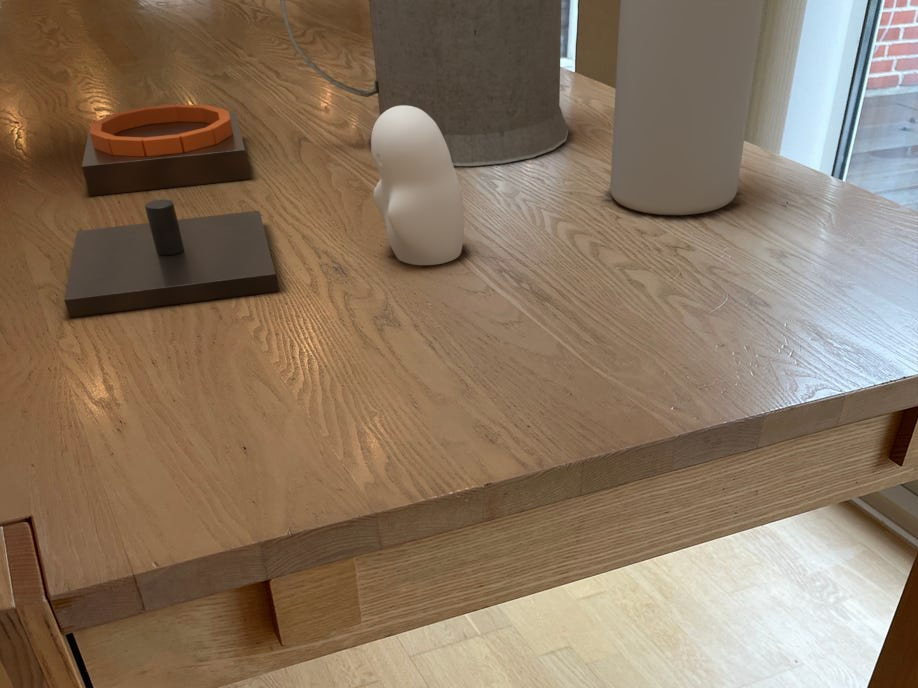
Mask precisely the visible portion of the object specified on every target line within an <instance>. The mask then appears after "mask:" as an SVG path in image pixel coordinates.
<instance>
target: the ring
mask: <svg viewBox="0 0 918 688" xmlns="http://www.w3.org/2000/svg"><path fill="white" fill-rule="evenodd" d="M229 113H230V112H229V110H227V109H225V108H224V109H223V108H221V107H217V106H212V105H208V104H189V103H188V104H187V103H178V104H176V103H175V104H174V103H173V104H163V105H154V106H144V107H138V108H133V109H129V110H125V111H119V112H115V113H112V114H109V115H107V116H104V117H101V118H100V119H98V120H96V121H94V122H92V123H91V124H90V126H91V128H90V127H89V129H90V136H91V140H92V143H93V147H94V148H95V149H97V150H99V151H102V152H105V153H108V154H110V155H119V156H139V157H145V156H146V155H147V157H148V156H158V155H168V154H178V153H183V152H189V151H193V150H197V149H201V148H205V147H209V146H213V145H215V144H218V143H220V142H221V141H223V140H225V139H226V138H228V137H230V136H231V135H232V134H233V130H232V125H231V119H230V115H229ZM168 122H204V123H208V124H211V125H209V126H207V127H206V128H202V129H198V130H193V131H189V132H185V133H181V134H176V135H166V136H156V137H146V138H143V137H121V136H114V134H116V133H118V132H120V131H122V130H127V129H131V128H135V127H140V126H144V125H148V124H158V123H168Z"/></svg>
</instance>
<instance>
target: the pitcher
mask: <svg viewBox="0 0 918 688" xmlns="http://www.w3.org/2000/svg"><path fill="white" fill-rule="evenodd" d="M279 1H280V8H281V13H282V18H283V21H284V25H285V29H286V32H287V35H288V37H289V40H290V42H291V44H292V45H293V48H294V49H295V50H296V52H297V53H298V55H299V56H300V57H301V58H302V60H303V61H304V62H305V63H306V64H307V65H308V66H309V67H310V68H311V69H312V70H313V71H314V72H315V73H317V74H318V75H319V76H320V77H321V78H323V79H324V80H326V81H327V82H328V83H330V84H331V85H333V86H335V87H337V88H339V89H341V90H343V91H345V92H347V93H350V94H353V95H356V96H359V97H366V98H369V97H371V96H374V95H376V94H377V100H378V110H379V111H378V112H379V114H378V118H379V117H380V115H381V114H382V113H384V112H385V111H386V110H388V109H390V108H392V107H395V106H401V105H406V106H413V107H416V108H419V109H421V110H422V111H424V112H425V113H426V114H427V115H429V116H430V117H431V118H432V119H433V120H434V122H435V123H436V124H437V126H438V128H439V129H440V131H441V133H442V135H443V138H444V140H445V142H446V144H447V147H448V150H449V153H450V156H451V160H452V163H453V167H482V166H492V165H503V164H509V163H512V162H513V163H514V162H518V161H523V160H528V159H533V158H535V157H538V156H541V155H543V154H547V153H549V152H552V151H555V150H556V149H557V148H559V147H560V146H561V145H563V144H564V143H565V142H566V141H567V139H568V134H569V129H568V127H567V124H566V120H565V118H564V115H563V114H564V113H563V111H562V109H561V106H560V101H561V100H560V99H561V98H560V97H561V94H560V93H561V54H562V53H561V51H562V50H561V47H562V44H561V43H562V3H563V2H562V1H563V0H368V3H369V4H368V5H369V17H370V27H371V38H372V48H373V58H374V59H373V60H374V68H375V79H373V88H371V89H370V90H361V89H357V88H354V87H352V86H349V85H347V84H344V83H343V82H341V81H339V80H337V79H334V78H333V77H331V76H330V75H329V74H327V73H325V71H323V70H322V69H321V68H320V67H318V66H317V65H316V64H315V63H314V62H313V61H312V60H311V59H310V57H308V56H307V55H306V53H305V52H304V51H303V50H302V48H301V47H300V45H299V44H298V42H297V40H296V39H295V36H294V34H293V31H292V29H291V26H290V21H289V18H288V13H287V9H286V3H285V0H279Z"/></svg>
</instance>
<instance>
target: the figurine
mask: <svg viewBox="0 0 918 688" xmlns="http://www.w3.org/2000/svg"><path fill="white" fill-rule="evenodd" d="M370 151H371V157H372V160H373V163H374V165H375V167H376V169H377V171H378V174H379V175H380V179H379V181H378V182H377V184H376V185H375V188H374V189H373V201H374V203H375V206H376V208H377V210H378V212H379V214H380V215H381V217H382V219H383V221H384V223H385V229H386V235H387V239H388V242H389V245H390V248H391V250H392V252H393V254H394V255H395V257H396V259H397V260H398V261H400V262H403V263H405V264H409V265H414V266H435V265H440V264H446V263H448V262H449V263H450V262H451V261H454V260H456V259H457V258H458V257H460V256H461V254H462V250H463V244H464V235H465V208H464V200H463V194H462V188H461V185H460V180H459V179H458V178H459V177H458V175H457V172H456V169H455V166H453V163H452V160H451V156H450V153H449V150H448V147H447V144H446V142H445V140H444V138H443V135H442V133H441V131H440V129H439V128H438V126H437V124H436V123H435V122H434V120H433V119H432V118H431V117H430V116H429V115H427V114H426V113H425V112H424V111H422V110H421V109H419V108H416V107H413V106H406V105H401V106H395V107H392V108H390V109H388V110H386V111H385V112H384V113H382V114H381V115H380V117H379V116H378V117H377V119H376V121H375V123H374V125H373V128H372V132H371V137H370Z"/></svg>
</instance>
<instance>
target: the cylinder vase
mask: <svg viewBox="0 0 918 688" xmlns="http://www.w3.org/2000/svg"><path fill="white" fill-rule="evenodd" d="M619 2H620V3H619V6H620V7H619V22H618V36H617V37H618V40H617V54H616V55H617V56H616V57H617V59H616V74H615V90H614V91H615V93H614V110H613V126H612V127H613V128H612V145H611V146H612V147H611V162H610V163H611V165H610V180H609V181H610V182H609V191H610V192H609V193H610V195H611V197H612V198H613V199H614V200H615V201H616V202H617V203H618V204H619V205H621V206H623V207H625V208H627V209H630V210H633V211H636V212H641V213H645V214H651V215H660V216H690V215H698V214H704V213H709V212H713V211H716V210H719V209H721V208H724V207H726V206H727V205H729V204H730V203H731V202H732V201H733V200H734V198H735V197H736V195H737V193H738V187H739V180H740V173H741V165H742V159H743V152H744V143H745V137H746V130H747V122H748V118H749V117H748V115H749V108H750V101H751V95H752V86H753V80H754V73H755V65H756V59H757V54H758V53H757V51H758V44H759V38H760V31H761V23H762V16H763V9H764V2H765V0H620V1H619Z"/></svg>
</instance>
